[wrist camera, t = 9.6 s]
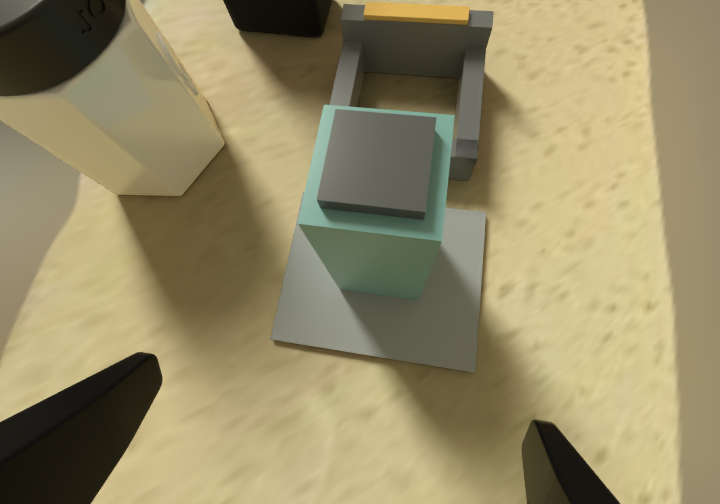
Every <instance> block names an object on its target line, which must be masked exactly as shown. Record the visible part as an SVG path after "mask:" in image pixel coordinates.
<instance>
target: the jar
mask: <svg viewBox="0 0 720 504" xmlns="http://www.w3.org/2000/svg"><path fill="white" fill-rule="evenodd" d="M0 121H1V122H3V123H4V124H6V125H8V126H9V127H11V128H12V129H14V130H15V131H17V132H19V133H20V134H22V135H23V136H25V137H26V138H28V139H30V140H31V141H33V142H34V143H36V144H37V145H39V146H40V147H42V148H44V149H45V150H47V151H48V152H50V153H51V154H53V155H55V156H56V157H58V158H59V159H61V160H62V161H64V162H66V163H67V164H69V165H70V166H72V167H73V168H75V169H77V170H78V171H80V172H81V173H83V174H84V175H86V176H88V177H89V178H91V179H92V180H94V181H95V182H97V183H98V184H100V185H102V186H103V187H105V188H106V189H108V190H109V191H111V192H113V193H114V194H117V195H151V196H181V195H183V194H184V193H185V191H186V190H187V189H188V188H189V187H190V185H191V184H192V183H193V182H194V181H195V179H196V178H197V177H198V176H199V175H200V173H201V172H202V171H203V170H204V169H205V167H206V166H207V165H208V164H209V163H210V162H211V160H212V159H213V158H214V157H215V156H216V154H217V153H218V152H219V151H220V150H221V148H222V147H223V146H224V144H225V142H224V139H223V137H222V135H221V133H220V130H219V128H218V126H217V123H216V121H215V119H214V117H213V114H212V112H211V110H210V108H209V105H208V103H207V101H206V99H205V96H204V95H203V93H202V92H201V90H200V89H199V87H198V86H197V84H196V83H195V81H194V80H193V78H192V77H191V75H190V74H189V73H188V71H187V70H186V68H185V67H184V65H183V64H182V62H181V61H180V59H179V58H178V56H177V55H176V53H175V52H174V50H173V49H172V47H171V45H170V44H169V42H168V41H167V40H166V38H165V37H164V36H163V34H162V33H161V31H160V30H159V28H158V27H157V25H156V24H155V23H154V21H153V20H152V18H151V17H150V15H149V14H148V12H147V11H146V9H145V8H144V6H143V5H142V3H141V2H140V1H139V0H0Z"/></svg>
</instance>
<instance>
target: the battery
mask: <svg viewBox="0 0 720 504" xmlns="http://www.w3.org/2000/svg"><path fill="white" fill-rule="evenodd" d="M223 1H224V3H225V5H226V8H227V10H228V12H229V14H230V16H231V19H232V21H233V23H234V25H235V27H236V28H237V29H239V30H246V31H257V32H268V33H280V34H291V35H303V36H315V37H318V36H320V35H321V34H322V32H323V29H324V26H325V22H326V19H327V15H328V12H329V8H330V4H331V1H332V0H223Z"/></svg>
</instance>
